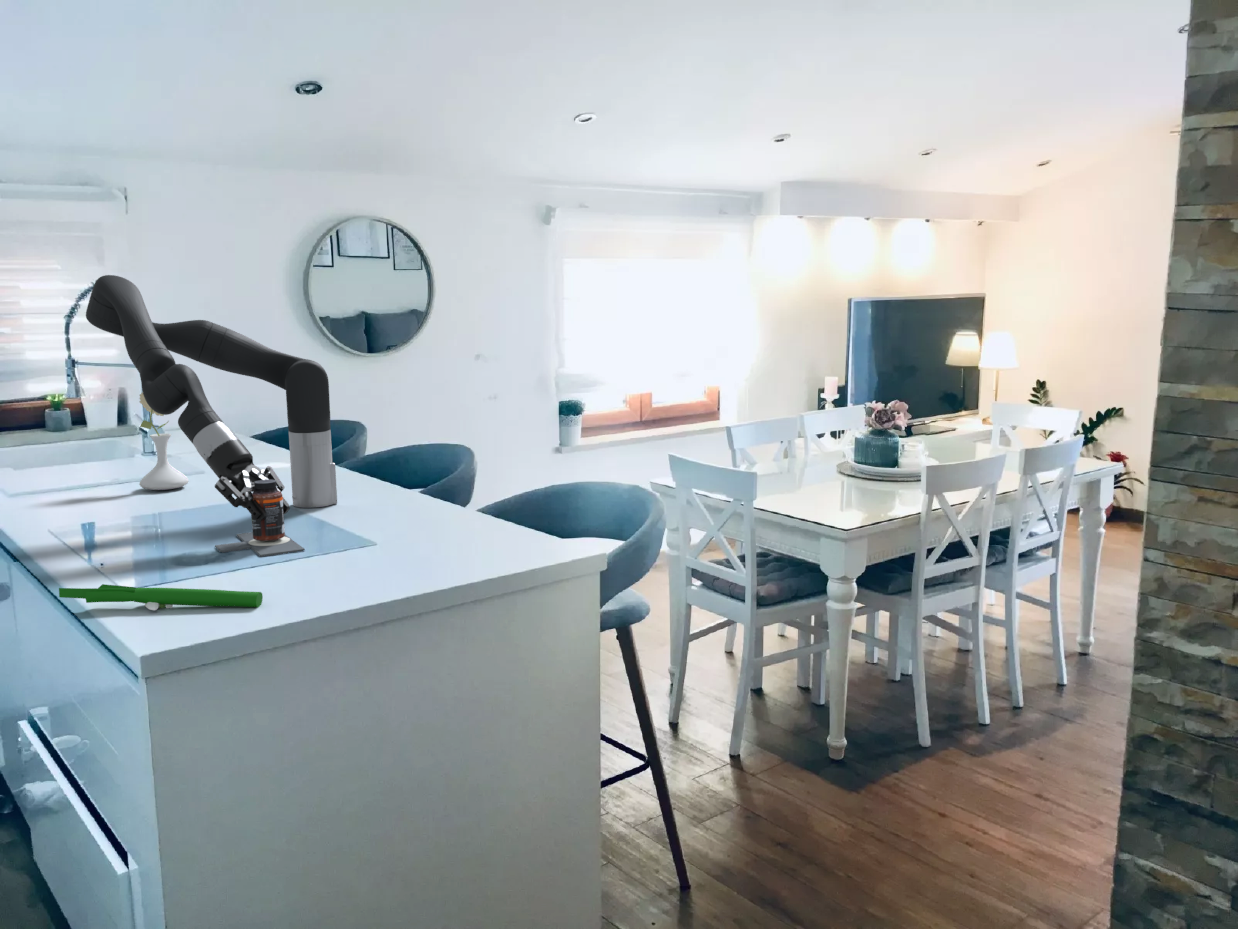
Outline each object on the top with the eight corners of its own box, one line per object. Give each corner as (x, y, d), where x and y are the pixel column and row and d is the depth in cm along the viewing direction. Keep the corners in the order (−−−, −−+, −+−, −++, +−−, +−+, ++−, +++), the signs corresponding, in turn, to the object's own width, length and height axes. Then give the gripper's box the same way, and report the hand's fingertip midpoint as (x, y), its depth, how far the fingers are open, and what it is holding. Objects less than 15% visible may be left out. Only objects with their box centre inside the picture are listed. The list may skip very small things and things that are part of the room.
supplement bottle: (292, 536, 193) (288, 479, 191) (269, 543, 188) (265, 484, 186) (268, 533, 195) (265, 477, 194) (245, 540, 190) (242, 482, 188)
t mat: (277, 530, 202) (277, 528, 202) (304, 550, 185) (304, 548, 185) (207, 539, 195) (207, 537, 195) (229, 561, 178) (229, 558, 178)
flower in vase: (198, 487, 251) (191, 389, 247) (157, 494, 241) (149, 392, 237) (168, 482, 258) (160, 387, 254) (126, 489, 248) (117, 390, 244)
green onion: (263, 608, 154) (68, 600, 153) (263, 588, 153) (67, 580, 152) (253, 618, 149) (51, 610, 148) (252, 597, 148) (49, 589, 147)
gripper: (239, 457, 201) (290, 519, 198) (184, 469, 187) (237, 535, 185) (258, 433, 198) (310, 495, 195) (204, 442, 185) (258, 509, 182)
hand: (274, 514), depth 190 cm, fingers closed on supplement bottle, 6 cm apart
